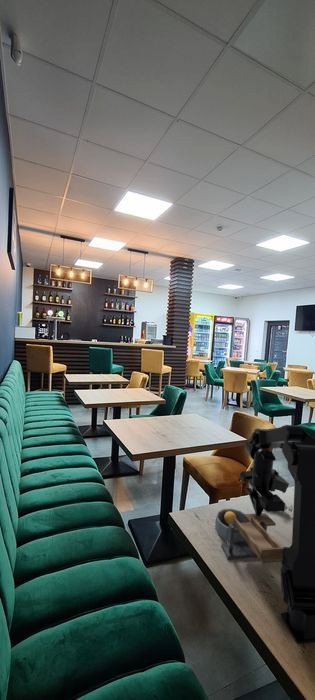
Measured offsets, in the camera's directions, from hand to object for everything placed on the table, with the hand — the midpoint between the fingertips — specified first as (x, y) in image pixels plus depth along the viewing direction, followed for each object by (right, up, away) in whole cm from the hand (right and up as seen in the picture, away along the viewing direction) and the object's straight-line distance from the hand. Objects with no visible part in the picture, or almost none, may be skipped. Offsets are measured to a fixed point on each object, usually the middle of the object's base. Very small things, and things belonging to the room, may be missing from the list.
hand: (257, 514), depth 98 cm
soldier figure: (+10, -6, +15) cm, 19 cm away
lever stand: (-6, -7, -7) cm, 12 cm away
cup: (-8, -6, +1) cm, 10 cm away
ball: (-8, -3, +4) cm, 9 cm away
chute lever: (-2, -1, -11) cm, 11 cm away
